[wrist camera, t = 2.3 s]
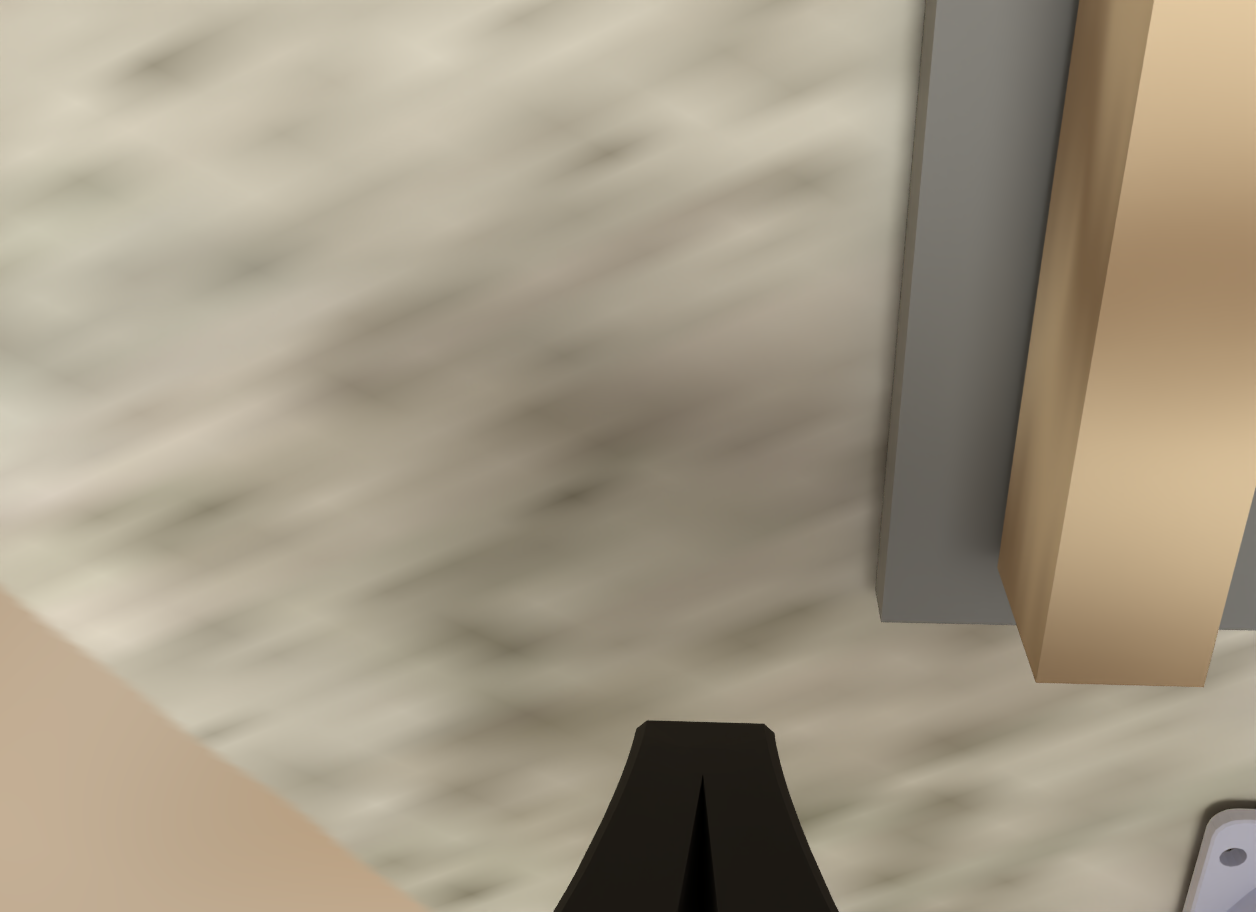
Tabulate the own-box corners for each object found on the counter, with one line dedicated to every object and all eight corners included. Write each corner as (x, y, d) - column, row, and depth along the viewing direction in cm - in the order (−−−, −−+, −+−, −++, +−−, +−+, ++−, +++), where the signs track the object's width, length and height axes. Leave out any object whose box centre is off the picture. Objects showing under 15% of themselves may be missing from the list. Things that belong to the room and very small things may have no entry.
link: (1076, -648, 13) (1164, -757, 10) (1511, -675, 13) (1716, -796, 10) (937, 566, 20) (966, 680, 18) (1204, 571, 20) (1274, 688, 18)
